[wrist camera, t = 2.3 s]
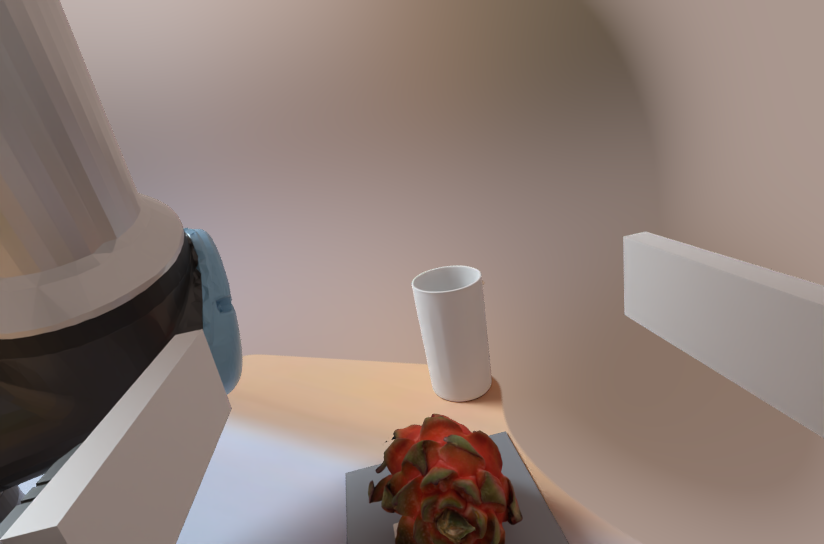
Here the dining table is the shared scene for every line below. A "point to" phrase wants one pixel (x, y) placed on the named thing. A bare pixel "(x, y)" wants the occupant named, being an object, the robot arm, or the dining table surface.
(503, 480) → the dragon fruit
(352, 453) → the dining table surface
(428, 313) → the mug
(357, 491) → the grey square tile
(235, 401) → the dining table surface
